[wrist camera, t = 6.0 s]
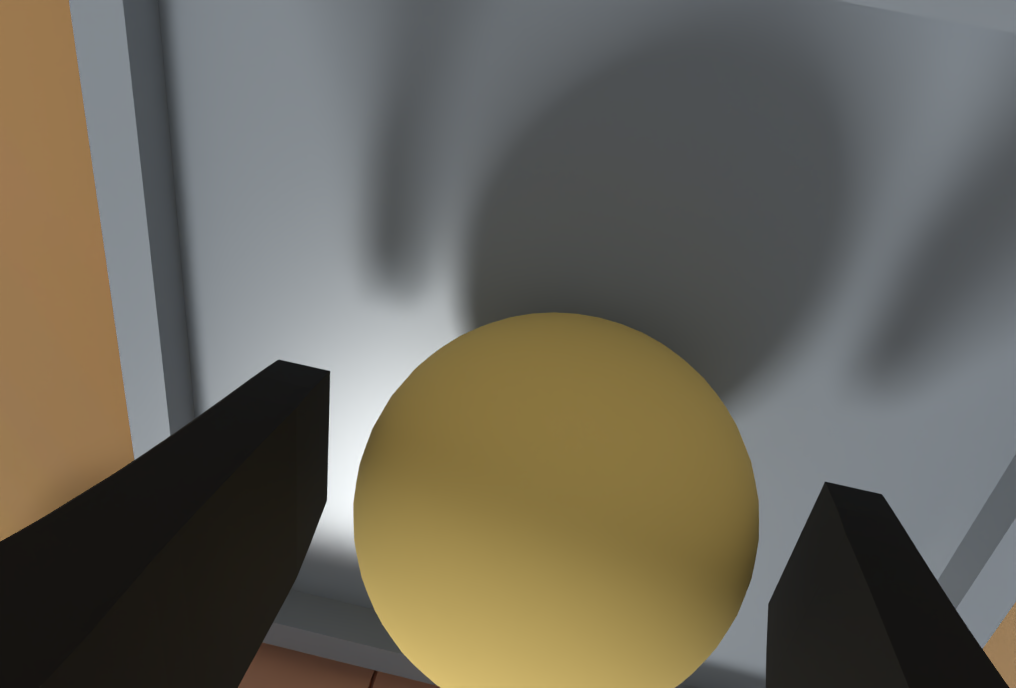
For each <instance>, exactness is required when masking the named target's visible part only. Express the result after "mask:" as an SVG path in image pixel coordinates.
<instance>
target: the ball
mask: <svg viewBox="0 0 1016 688" xmlns="http://www.w3.org/2000/svg"><path fill="white" fill-rule="evenodd" d="M353 523H354V542H355V548H356V553H357V559H358V563H359V568H360V572H361V577H362V580H363V582H364V585H365V588H366V591H367V593H368V596H369V598H370V600H371V603H372V605H373V607H374V610H375V612H376V614H377V615H378V617H379V619H380V621H381V623H382V625H383V626H384V628H385V629H386V630H387V632H388V633H389V635H390V636H391V638H392V639H393V641H394V642H395V643H396V645H397V646H398V647H399V649H400V650H401V652H402V653H403V654H404V655H405V656H406V657H407V658H408V659H409V660H410V661H411V662H412V664H413V665H415V666H416V667H417V668H418V669H419V670H420V671H421V672H422V673H423V674H424V675H426V676H427V677H428V678H429V679H430V680H431V681H433V682H434V683H435V684H436V685H437V686H439V687H440V688H675V687H677V686H678V685H679V684H681V683H682V682H683V681H684V680H685V679H687V678H688V677H689V676H690V675H691V674H693V673H694V672H695V671H696V669H697V668H698V667H699V666H700V665H701V664H702V663H703V662H704V661H705V660H706V659H707V658H708V657H709V656H710V655H711V653H712V652H713V651H714V650H715V649H716V648H717V646H718V645H719V643H720V642H721V640H722V639H723V637H724V636H725V634H726V633H727V631H728V630H729V628H730V626H731V625H732V623H733V621H734V620H735V618H736V616H737V615H738V612H739V610H740V607H741V605H742V602H743V600H744V597H745V595H746V592H747V590H748V587H749V584H750V582H751V579H752V574H753V569H754V564H755V560H756V554H757V548H758V542H759V499H758V494H757V488H756V483H755V478H754V473H753V468H752V463H751V460H750V457H749V455H748V452H747V450H746V447H745V445H744V442H743V439H742V437H741V435H740V432H739V430H738V427H737V425H736V423H735V422H734V420H733V418H732V417H731V415H730V413H729V411H728V410H727V408H726V406H725V405H724V404H723V402H722V401H721V399H720V398H719V396H718V395H717V394H716V392H715V391H714V390H713V389H712V388H711V386H710V385H709V384H708V383H707V381H706V380H705V379H704V378H703V377H702V376H701V375H700V374H699V373H698V372H697V371H696V370H695V369H694V368H693V367H691V366H690V365H689V364H688V363H687V362H686V361H685V360H684V359H682V358H681V357H680V356H679V355H677V354H676V353H675V352H673V351H672V350H670V349H669V348H668V347H666V346H665V345H663V344H662V343H660V342H659V341H657V340H655V339H653V338H651V337H650V336H648V335H646V334H644V333H642V332H640V331H637V330H635V329H633V328H630V327H628V326H625V325H623V324H620V323H617V322H613V321H610V320H606V319H603V318H599V317H593V316H587V315H581V314H574V313H557V312H551V313H532V314H526V315H520V316H514V317H509V318H506V319H502V320H499V321H496V322H492V323H489V324H487V325H484V326H481V327H479V328H477V329H474V330H472V331H470V332H468V333H465V334H463V335H461V336H459V337H457V338H456V339H454V340H453V341H451V342H449V343H448V344H446V345H445V346H443V347H442V348H440V349H439V350H437V351H436V352H435V353H433V354H432V355H431V356H430V357H428V358H427V359H426V360H425V361H424V362H422V363H421V364H420V365H419V366H418V367H417V368H415V369H414V371H413V372H412V373H411V374H410V375H409V376H408V378H407V379H406V380H405V381H404V382H403V383H402V384H401V386H400V387H399V388H398V389H397V390H396V391H395V393H394V394H393V395H392V396H391V398H390V399H389V401H388V403H387V404H386V406H385V408H384V409H383V411H382V413H381V414H380V416H379V418H378V420H377V421H376V423H375V425H374V427H373V429H372V431H371V434H370V436H369V439H368V442H367V444H366V447H365V450H364V453H363V456H362V459H361V462H360V465H359V470H358V476H357V481H356V488H355V494H354V501H353Z"/></svg>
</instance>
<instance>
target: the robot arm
mask: <svg viewBox="0 0 1016 688" xmlns="http://www.w3.org/2000/svg"><path fill="white" fill-rule="evenodd" d="M329 405H330V371H328V370H324V369H319V368H315V367H310V366H306V365H301V364H297V363H292V362H288V361H284V360H277V361H275V362H274V363H272V364H271V365H269V366H268V367H266V368H265V369H263V370H262V371H260V372H259V373H258V374H256V375H255V376H253V377H252V378H251V379H249V380H248V381H246V382H245V383H244V384H242V385H241V386H240V387H238V388H237V389H235V390H234V391H233V392H231V393H230V394H229V395H227V396H226V397H224V398H223V399H222V400H220V401H219V402H217V403H216V404H215V405H213V406H212V407H211V408H209V409H208V410H206V411H205V412H204V413H202V414H201V415H199V416H198V417H196V418H195V419H194V420H192V421H191V422H189V423H188V424H187V425H185V426H184V427H182V428H181V429H180V430H178V431H177V432H175V433H174V434H172V435H171V436H169V437H168V438H166V439H165V440H163V441H162V442H160V443H159V444H157V445H156V446H155V447H153V448H152V449H150V450H149V451H147V452H146V453H144V454H143V455H141V456H140V457H138V458H137V459H135V460H134V461H132V462H131V463H130V464H128V465H127V466H125V467H123V468H122V469H120V470H119V471H117V472H116V473H114V474H113V475H111V476H110V477H108V478H106V479H105V480H103V481H101V482H100V483H98V484H97V485H95V486H93V487H92V488H90V489H88V490H87V491H85V492H84V493H82V494H80V495H79V496H77V497H75V498H74V499H72V500H71V501H69V502H67V503H66V504H64V505H63V506H61V507H59V508H58V509H56V510H54V511H53V512H51V513H50V514H48V515H46V516H45V517H43V518H41V519H39V520H38V521H36V522H34V523H33V524H31V525H29V526H27V527H25V528H24V529H22V530H20V531H18V532H17V533H15V534H13V535H11V536H10V537H8V538H6V539H4V540H2V541H1V542H0V688H238V686H239V685H240V683H241V681H242V679H243V677H244V675H245V674H246V672H247V670H248V668H249V666H250V664H251V662H252V661H253V659H254V657H255V655H256V653H257V651H258V650H259V648H260V646H261V644H262V642H263V640H264V639H265V637H266V635H267V633H268V631H269V629H270V627H271V626H272V624H273V622H274V620H275V618H276V616H277V614H278V612H279V611H280V609H281V607H282V605H283V603H284V601H285V599H286V597H287V596H288V594H289V592H290V590H291V588H292V586H293V584H294V582H295V580H296V578H297V576H298V574H299V571H300V569H301V566H302V564H303V561H304V559H305V556H306V554H307V551H308V549H309V546H310V544H311V541H312V539H313V536H314V534H315V531H316V528H317V526H318V523H319V520H320V518H321V515H322V513H323V510H324V507H325V505H326V502H327V486H328V446H329ZM766 688H1009V687H1008V685H1007V684H1006V682H1005V681H1004V680H1003V678H1002V677H1001V675H1000V674H999V672H998V671H997V670H996V668H995V667H994V665H993V664H992V662H991V661H990V659H989V658H988V657H987V655H986V654H985V652H984V651H983V649H982V648H981V646H980V645H979V643H978V642H977V640H976V639H975V637H974V636H973V634H972V633H971V631H970V630H969V629H968V627H967V625H966V624H965V622H964V621H963V619H962V618H961V616H960V615H959V613H958V612H957V610H956V609H955V607H954V606H953V604H952V603H951V601H950V600H949V598H948V597H947V595H946V593H945V592H944V590H943V589H942V587H941V586H940V584H939V583H938V581H937V579H936V578H935V576H934V575H933V573H932V572H931V570H930V569H929V567H928V565H927V564H926V562H925V561H924V559H923V557H922V556H921V554H920V553H919V551H918V550H917V548H916V546H915V545H914V543H913V542H912V540H911V538H910V537H909V535H908V534H907V532H906V530H905V529H904V527H903V526H902V524H901V523H900V521H899V519H898V518H897V516H896V515H895V513H894V512H893V510H892V508H891V507H890V505H889V504H888V502H887V501H886V499H885V498H884V496H883V495H882V494H879V493H875V492H870V491H866V490H861V489H857V488H852V487H848V486H843V485H839V484H834V483H830V482H825V483H824V485H823V487H822V489H821V491H820V493H819V496H818V498H817V500H816V502H815V504H814V506H813V509H812V511H811V513H810V515H809V517H808V519H807V521H806V524H805V526H804V528H803V530H802V532H801V534H800V537H799V539H798V541H797V543H796V545H795V547H794V549H793V552H792V554H791V556H790V558H789V560H788V562H787V565H786V567H785V569H784V571H783V573H782V575H781V577H780V580H779V582H778V584H777V586H776V588H775V590H774V593H773V595H772V597H771V599H770V601H769V603H768V622H767V646H766Z"/></svg>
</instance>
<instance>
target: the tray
mask: <svg viewBox="0 0 1016 688" xmlns="http://www.w3.org/2000/svg"><path fill="white" fill-rule="evenodd" d="M69 4H70V11H71V18H72V25H73V32H74V39H75V46H76V53H77V60H78V67H79V74H80V81H81V88H82V95H83V102H84V109H85V116H86V123H87V130H88V137H89V144H90V151H91V158H92V165H93V172H94V179H95V186H96V193H97V200H98V207H99V214H100V221H101V228H102V235H103V242H104V249H105V256H106V263H107V270H108V277H109V284H110V291H111V298H112V305H113V312H114V319H115V326H116V333H117V340H118V347H119V354H120V361H121V368H122V375H123V382H124V389H125V396H126V403H127V410H128V417H129V424H130V431H131V438H132V445H133V452H134V459H137V458H138V457H140V456H141V455H143V454H144V453H146V452H147V451H149V450H150V449H152V448H153V447H155V446H156V445H157V444H159V443H160V442H162V441H163V440H165V439H166V438H168V437H169V436H171V435H172V434H174V433H175V432H177V431H178V430H180V429H181V428H182V427H184V426H185V425H187V424H188V423H189V422H191V421H192V420H194V419H195V418H196V417H198V416H199V415H201V414H202V413H204V412H205V411H206V410H208V409H209V408H211V407H212V406H213V405H215V404H216V403H217V402H219V401H220V400H222V399H223V398H224V397H226V396H227V395H229V394H230V393H231V392H233V391H234V390H235V389H237V388H238V387H240V386H241V385H242V384H244V383H245V382H246V381H248V380H249V379H251V378H252V377H253V376H255V375H256V374H258V373H259V372H260V371H262V370H263V369H265V368H266V367H268V366H269V365H271V364H272V363H274V362H275V361H277V360H284V361H288V362H292V363H297V364H301V365H306V366H310V367H315V368H319V369H324V370H328V371H330V405H329V446H328V486H327V502H326V505H325V507H324V510H323V513H322V515H321V518H320V520H319V523H318V526H317V528H316V531H315V534H314V536H313V539H312V541H311V544H310V546H309V549H308V551H307V554H306V556H305V559H304V561H303V564H302V566H301V569H300V571H299V574H298V576H297V578H296V580H295V582H294V584H293V586H292V588H291V590H290V592H289V594H288V596H287V597H286V599H285V601H284V603H283V605H282V607H281V609H280V611H279V612H278V614H277V616H276V618H275V620H274V622H273V624H272V626H271V627H270V629H269V631H268V633H267V635H266V637H265V639H264V640H263V642H262V643H266V644H271V645H275V646H279V647H283V648H287V649H291V650H295V651H299V652H303V653H307V654H311V655H315V656H319V657H323V658H327V659H331V660H335V661H339V662H343V663H347V664H351V665H355V666H359V667H364V668H368V669H372V670H376V671H380V672H384V673H388V674H392V675H396V676H400V677H404V678H408V679H412V680H416V681H420V682H424V683H428V684H432V685H436V684H435V683H434V682H433V681H431V680H430V679H429V678H428V677H427V676H426V675H424V674H423V673H422V672H421V671H420V670H419V669H418V668H417V667H416V666H415V665H413V664H412V662H411V661H410V660H409V659H408V658H407V657H406V656H405V655H404V654H403V653H402V652H401V650H400V649H399V647H398V646H397V645H396V643H395V642H394V641H393V639H392V638H391V636H390V635H389V633H388V632H387V630H386V629H385V628H384V626H383V625H382V623H381V621H380V619H379V617H378V615H377V614H376V612H375V610H374V607H373V605H372V603H371V600H370V598H369V596H368V593H367V591H366V588H365V585H364V582H363V580H362V577H361V572H360V568H359V563H358V559H357V553H356V548H355V542H354V523H353V501H354V494H355V488H356V481H357V476H358V470H359V465H360V462H361V459H362V456H363V453H364V450H365V447H366V444H367V442H368V439H369V436H370V434H371V431H372V429H373V427H374V425H375V423H376V421H377V420H378V418H379V416H380V414H381V413H382V411H383V409H384V408H385V406H386V404H387V403H388V401H389V399H390V398H391V396H392V395H393V394H394V393H395V391H396V390H397V389H398V388H399V387H400V386H401V384H402V383H403V382H404V381H405V380H406V379H407V378H408V376H409V375H410V374H411V373H412V372H413V371H414V369H415V368H417V367H418V366H419V365H420V364H421V363H422V362H424V361H425V360H426V359H427V358H428V357H430V356H431V355H432V354H433V353H435V352H436V351H437V350H439V349H440V348H442V347H443V346H445V345H446V344H448V343H449V342H451V341H453V340H454V339H456V338H457V337H459V336H461V335H463V334H465V333H468V332H470V331H472V330H474V329H477V328H479V327H481V326H484V325H487V324H489V323H492V322H496V321H499V320H502V319H506V318H509V317H514V316H520V315H526V314H532V313H551V312H557V313H574V314H581V315H587V316H593V317H599V318H603V319H606V320H610V321H613V322H617V323H620V324H623V325H625V326H628V327H630V328H633V329H635V330H637V331H640V332H642V333H644V334H646V335H648V336H650V337H651V338H653V339H655V340H657V341H659V342H660V343H662V344H663V345H665V346H666V347H668V348H669V349H670V350H672V351H673V352H675V353H676V354H677V355H679V356H680V357H681V358H682V359H684V360H685V361H686V362H687V363H688V364H689V365H690V366H691V367H693V368H694V369H695V370H696V371H697V372H698V373H699V374H700V375H701V376H702V377H703V378H704V379H705V380H706V381H707V383H708V384H709V385H710V386H711V388H712V389H713V390H714V391H715V392H716V394H717V395H718V396H719V398H720V399H721V401H722V402H723V404H724V405H725V406H726V408H727V410H728V411H729V413H730V415H731V417H732V418H733V420H734V422H735V423H736V425H737V427H738V430H739V432H740V435H741V437H742V439H743V442H744V445H745V447H746V450H747V452H748V455H749V457H750V460H751V463H752V468H753V473H754V478H755V483H756V488H757V494H758V499H759V542H758V548H757V554H756V560H755V564H754V569H753V574H752V579H751V582H750V584H749V587H748V590H747V592H746V595H745V597H744V600H743V602H742V605H741V607H740V610H739V612H738V615H737V616H736V618H735V620H734V621H733V623H732V625H731V626H730V628H729V630H728V631H727V633H726V634H725V636H724V637H723V639H722V640H721V642H720V643H719V645H718V646H717V648H716V649H715V650H714V651H713V652H712V653H711V655H710V656H709V657H708V658H707V659H706V660H705V661H704V662H703V663H702V664H701V665H700V666H699V667H698V668H697V669H696V671H695V672H694V673H693V674H691V675H690V676H689V677H688V678H687V679H685V680H684V681H683V682H682V683H681V684H679V685H678V686H677V687H675V688H766V646H767V622H768V603H769V601H770V599H771V597H772V595H773V593H774V590H775V588H776V586H777V584H778V582H779V580H780V577H781V575H782V573H783V571H784V569H785V567H786V565H787V562H788V560H789V558H790V556H791V554H792V552H793V549H794V547H795V545H796V543H797V541H798V539H799V537H800V534H801V532H802V530H803V528H804V526H805V524H806V521H807V519H808V517H809V515H810V513H811V511H812V509H813V506H814V504H815V502H816V500H817V498H818V496H819V493H820V491H821V489H822V487H823V485H824V483H825V482H830V483H834V484H839V485H843V486H848V487H852V488H857V489H861V490H866V491H870V492H875V493H879V494H882V495H883V496H884V498H885V499H886V501H887V502H888V504H889V505H890V507H891V508H892V510H893V512H894V513H895V515H896V516H897V518H898V519H899V521H900V523H901V524H902V526H903V527H904V529H905V530H906V532H907V534H908V535H909V537H910V538H911V540H912V542H913V543H914V545H915V546H916V548H917V550H918V551H919V553H920V554H921V556H922V557H923V559H924V561H925V562H926V564H927V565H928V567H929V569H930V570H931V572H932V573H933V575H934V576H935V578H936V579H937V581H938V583H939V584H940V586H941V587H942V589H943V590H944V592H945V593H946V595H947V597H948V598H949V600H950V601H951V603H952V604H953V606H954V607H955V609H956V610H957V612H958V613H959V615H960V616H961V618H962V619H963V621H964V622H965V624H966V625H967V627H968V629H969V630H970V631H971V633H972V634H973V636H974V637H975V639H976V640H977V642H978V643H979V645H980V646H981V648H982V649H983V647H984V646H985V644H986V643H987V642H988V640H989V639H990V637H991V636H992V634H993V633H994V632H995V630H996V629H997V627H998V626H999V625H1000V623H1001V622H1002V620H1003V619H1004V618H1005V616H1006V615H1007V613H1008V612H1009V610H1010V609H1011V608H1012V606H1013V605H1014V603H1015V602H1016V0H69ZM436 686H437V685H436Z"/></svg>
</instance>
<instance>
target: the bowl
mask: <svg viewBox="0 0 1016 688" xmlns="http://www.w3.org/2000/svg"><path fill="white" fill-rule="evenodd" d="M238 688H440V687H439V686H436V685H432V684H428V683H424V682H420V681H416V680H412V679H408V678H404V677H400V676H396V675H392V674H388V673H384V672H380V671H376V670H372V669H368V668H364V667H359V666H355V665H351V664H347V663H343V662H339V661H335V660H331V659H327V658H323V657H319V656H315V655H311V654H307V653H303V652H299V651H295V650H291V649H287V648H283V647H279V646H275V645H271V644H266V643H262V644H261V646H260V648H259V650H258V651H257V653H256V655H255V657H254V659H253V661H252V662H251V664H250V666H249V668H248V670H247V672H246V674H245V675H244V677H243V679H242V681H241V683H240V685H239V686H238Z"/></svg>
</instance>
